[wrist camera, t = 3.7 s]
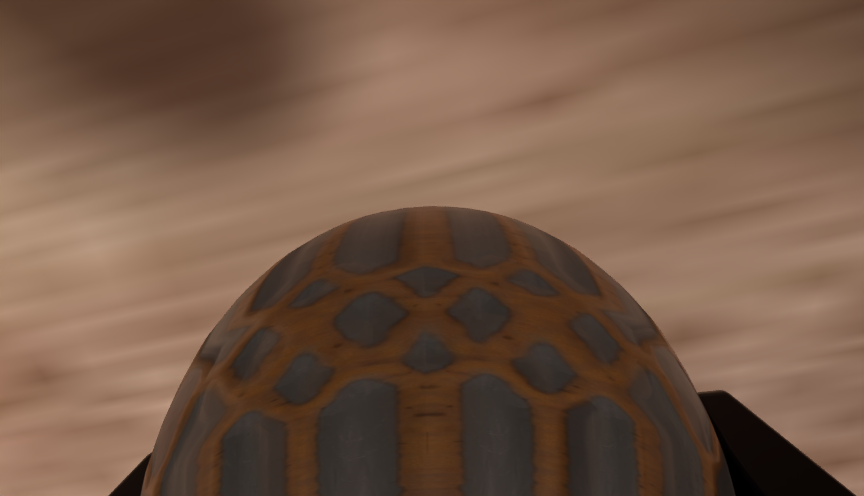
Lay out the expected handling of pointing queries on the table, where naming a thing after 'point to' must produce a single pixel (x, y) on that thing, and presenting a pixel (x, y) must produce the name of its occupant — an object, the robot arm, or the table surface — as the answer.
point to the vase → (436, 375)
